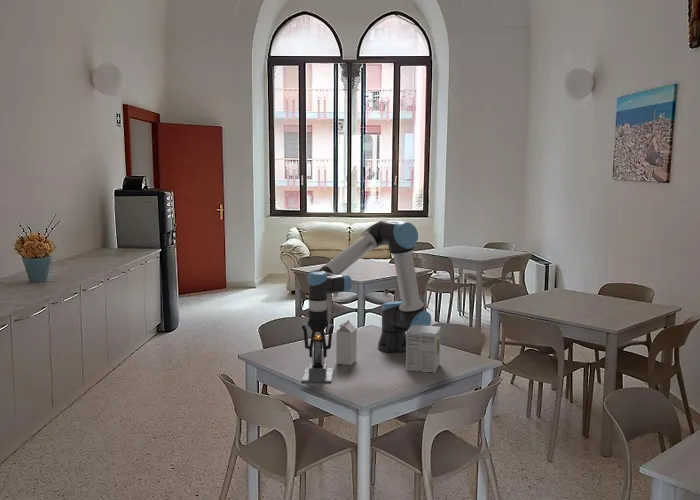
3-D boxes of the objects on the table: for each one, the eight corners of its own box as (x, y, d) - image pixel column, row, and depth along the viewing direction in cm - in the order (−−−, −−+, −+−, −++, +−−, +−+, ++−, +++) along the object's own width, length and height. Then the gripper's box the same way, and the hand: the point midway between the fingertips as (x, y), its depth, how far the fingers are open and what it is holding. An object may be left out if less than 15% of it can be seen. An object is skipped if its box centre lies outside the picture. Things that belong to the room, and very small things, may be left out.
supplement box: (435, 373, 267) (436, 333, 265) (405, 370, 271) (405, 331, 269) (440, 364, 280) (441, 326, 278) (411, 361, 284) (412, 324, 282)
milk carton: (356, 361, 284) (356, 320, 281) (351, 365, 277) (351, 323, 275) (341, 359, 286) (341, 318, 284) (336, 364, 279) (336, 322, 277)
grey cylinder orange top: (323, 367, 263) (323, 334, 261) (323, 370, 258) (323, 337, 257) (313, 367, 263) (312, 334, 261) (311, 370, 259) (311, 337, 257)
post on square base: (333, 370, 270) (333, 343, 269) (331, 383, 255) (331, 354, 253) (306, 370, 271) (305, 343, 269) (301, 382, 255) (301, 353, 253)
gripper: (338, 307, 261) (338, 362, 264) (299, 307, 262) (299, 361, 265) (337, 311, 254) (337, 367, 257) (297, 311, 254) (297, 367, 257)
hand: (318, 364), depth 261 cm, fingers closed on grey cylinder orange top, 3 cm apart
